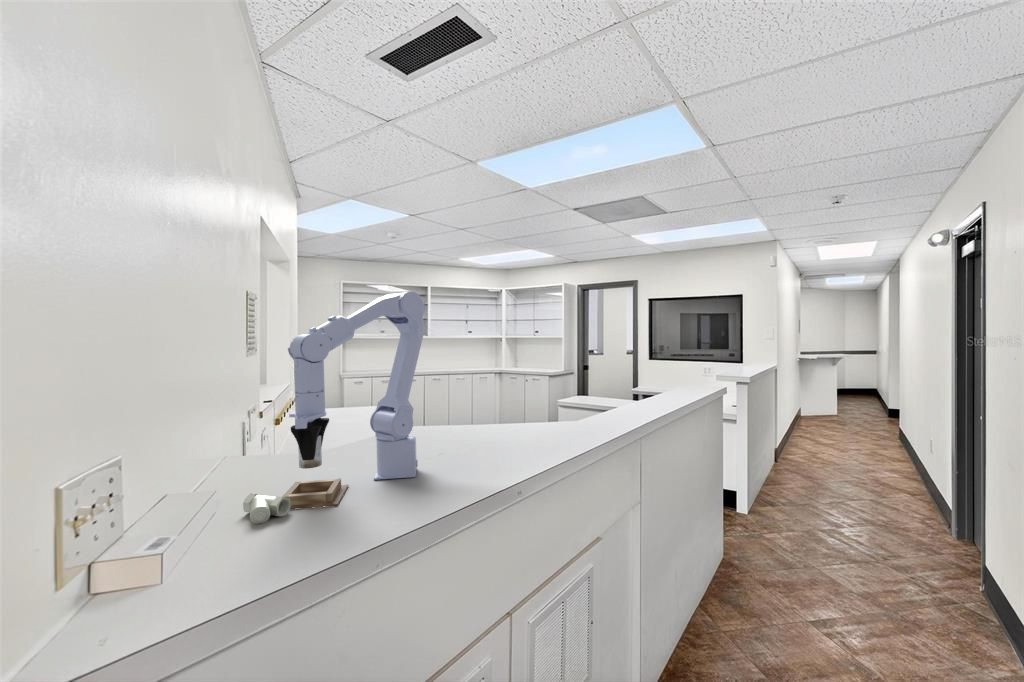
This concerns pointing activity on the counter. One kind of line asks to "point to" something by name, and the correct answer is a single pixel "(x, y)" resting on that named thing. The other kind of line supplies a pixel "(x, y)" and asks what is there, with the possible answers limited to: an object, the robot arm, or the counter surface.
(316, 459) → the silver metal cylinder
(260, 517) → the pipe fitting
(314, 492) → the cradle board
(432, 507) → the counter surface
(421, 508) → the counter surface
